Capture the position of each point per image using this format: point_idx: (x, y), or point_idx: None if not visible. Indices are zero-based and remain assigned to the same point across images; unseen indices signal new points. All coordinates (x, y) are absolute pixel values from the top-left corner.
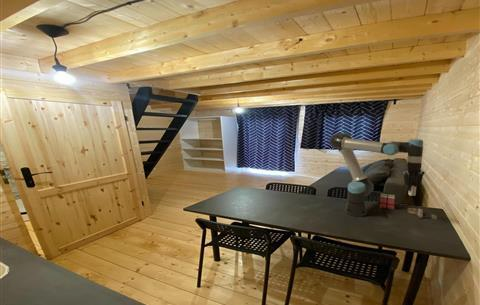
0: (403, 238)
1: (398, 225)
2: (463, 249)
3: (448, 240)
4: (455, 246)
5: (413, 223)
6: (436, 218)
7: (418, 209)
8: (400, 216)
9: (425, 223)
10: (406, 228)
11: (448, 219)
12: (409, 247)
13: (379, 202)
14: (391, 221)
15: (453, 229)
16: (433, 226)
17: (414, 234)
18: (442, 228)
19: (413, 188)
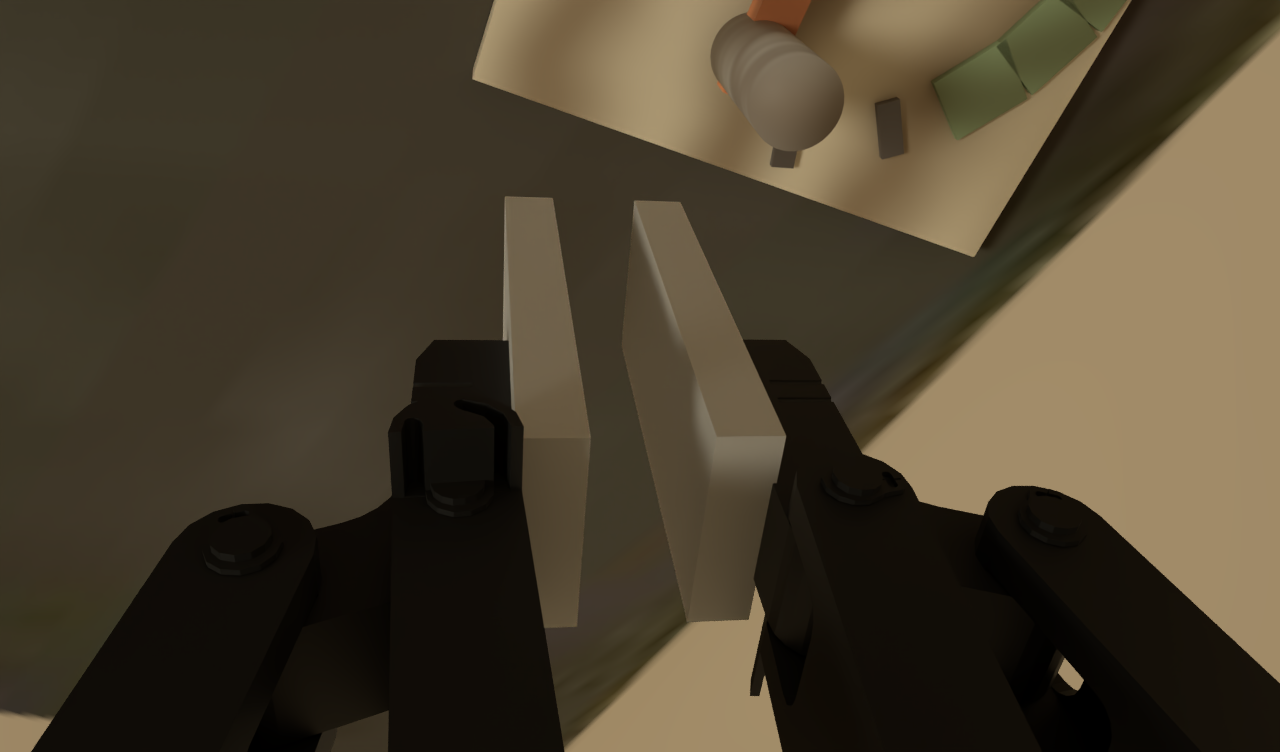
0: (39, 568)
1: (165, 228)
2: (581, 712)
3: (589, 592)
4: (553, 678)
5: (498, 173)
6: (1014, 106)
7: (753, 93)
8: None
9: (707, 186)
10: (251, 330)
11: (1230, 72)
12: (17, 713)
13: None
14: (103, 59)
15: (922, 376)
16: (738, 288)
17: (264, 484)
18: (807, 347)
19: (673, 459)
